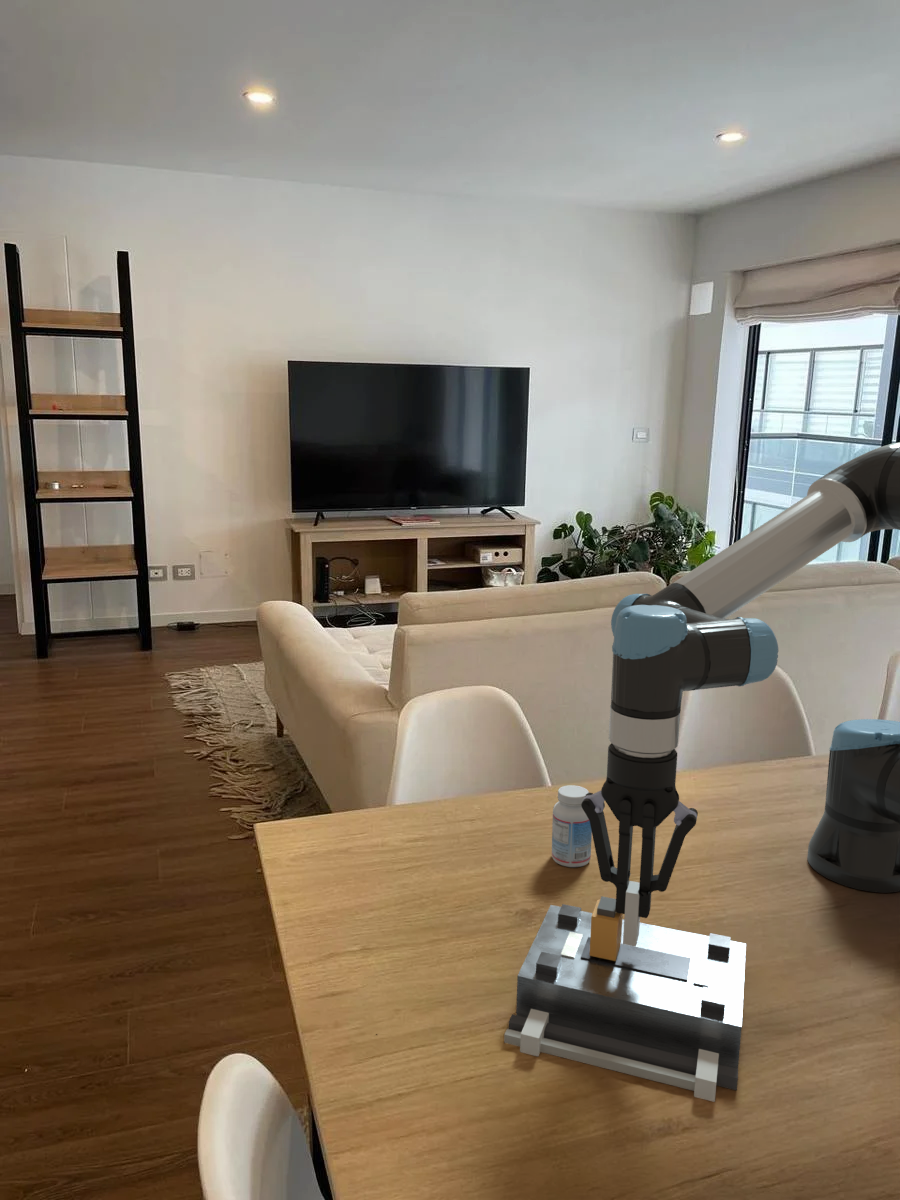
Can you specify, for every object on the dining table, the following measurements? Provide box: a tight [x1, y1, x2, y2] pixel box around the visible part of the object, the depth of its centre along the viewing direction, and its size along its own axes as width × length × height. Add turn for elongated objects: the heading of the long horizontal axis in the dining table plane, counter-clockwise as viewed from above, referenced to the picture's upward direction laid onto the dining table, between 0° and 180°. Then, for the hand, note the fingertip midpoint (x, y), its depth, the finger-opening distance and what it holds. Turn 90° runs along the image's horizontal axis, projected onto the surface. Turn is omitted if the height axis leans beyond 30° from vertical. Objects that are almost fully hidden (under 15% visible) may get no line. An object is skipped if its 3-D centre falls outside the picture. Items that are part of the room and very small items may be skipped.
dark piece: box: [503, 1009, 739, 1103], centre depth 103 cm, size 24×26×2 cm
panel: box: [515, 903, 747, 1070], centre depth 103 cm, size 24×16×6 cm, turn 70°
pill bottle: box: [551, 784, 593, 868], centre depth 135 cm, size 6×6×11 cm
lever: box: [590, 895, 624, 961], centre depth 103 cm, size 3×4×6 cm
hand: (631, 938), depth 102 cm, fingers closed
